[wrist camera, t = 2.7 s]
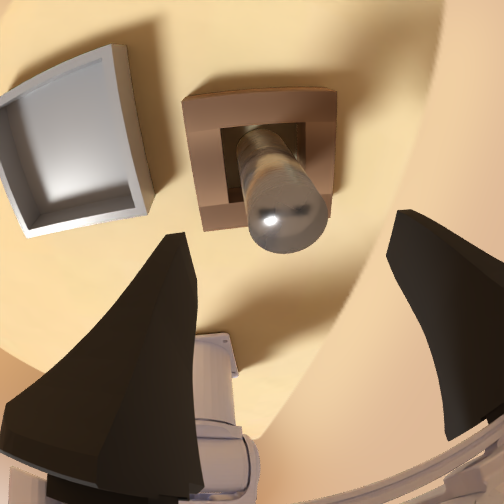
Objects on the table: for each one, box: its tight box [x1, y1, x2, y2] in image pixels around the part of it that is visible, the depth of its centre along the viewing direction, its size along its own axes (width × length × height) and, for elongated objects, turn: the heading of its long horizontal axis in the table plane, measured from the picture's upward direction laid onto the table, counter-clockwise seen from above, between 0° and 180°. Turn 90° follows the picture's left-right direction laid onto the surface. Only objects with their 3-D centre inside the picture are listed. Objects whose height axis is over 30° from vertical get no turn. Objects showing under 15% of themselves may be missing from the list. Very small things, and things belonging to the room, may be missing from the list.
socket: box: [181, 87, 337, 232], centre depth 16 cm, size 8×8×2 cm
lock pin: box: [236, 129, 328, 254], centre depth 13 cm, size 3×3×8 cm
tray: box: [0, 44, 155, 238], centre depth 13 cm, size 10×10×2 cm
